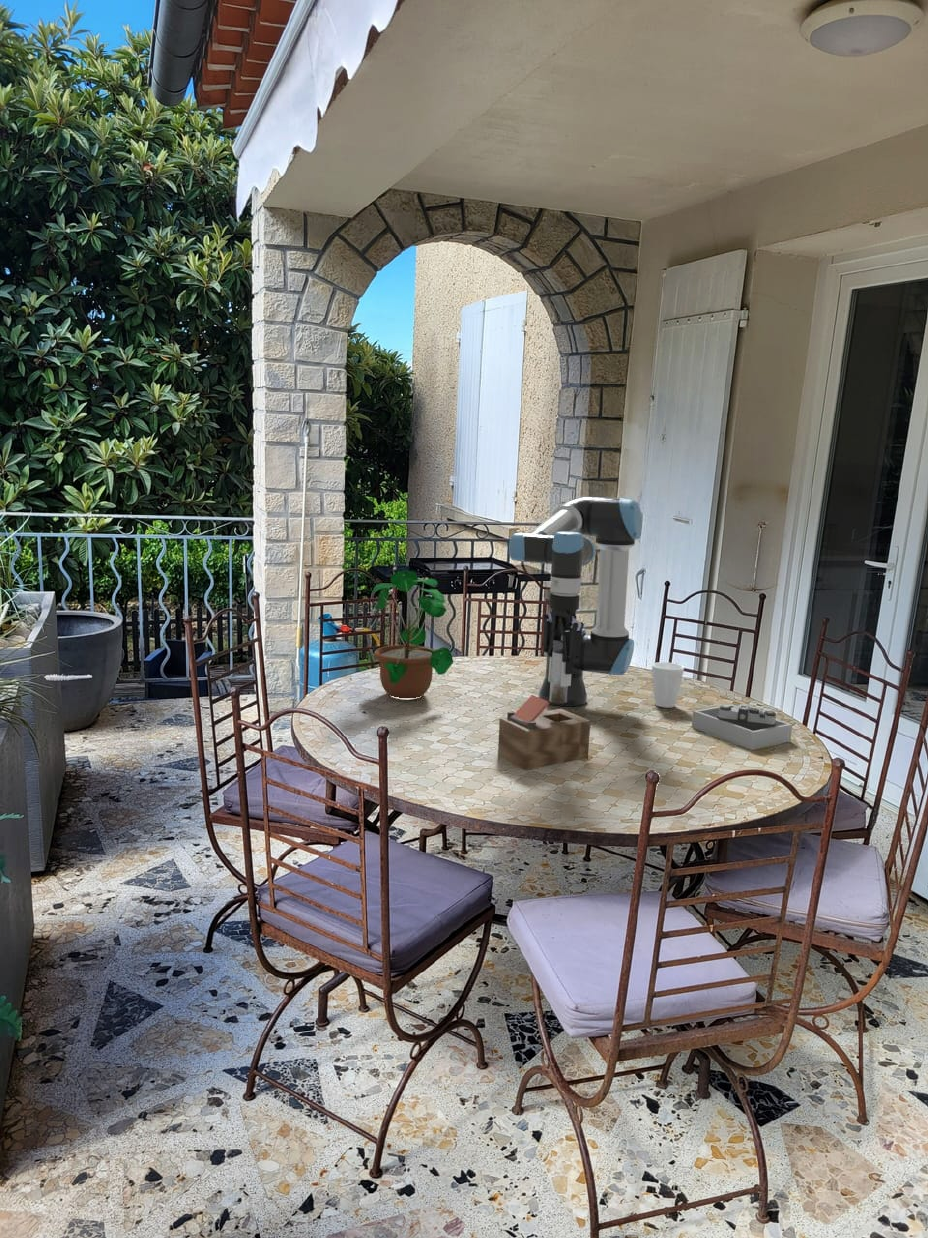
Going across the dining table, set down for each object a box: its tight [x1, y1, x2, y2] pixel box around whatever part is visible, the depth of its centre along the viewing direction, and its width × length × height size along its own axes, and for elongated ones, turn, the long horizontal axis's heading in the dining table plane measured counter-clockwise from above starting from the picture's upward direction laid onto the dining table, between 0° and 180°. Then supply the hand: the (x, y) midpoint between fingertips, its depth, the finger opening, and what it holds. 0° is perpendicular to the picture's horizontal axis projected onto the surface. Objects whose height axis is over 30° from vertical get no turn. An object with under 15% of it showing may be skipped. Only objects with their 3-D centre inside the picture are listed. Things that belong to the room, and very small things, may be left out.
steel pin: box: [550, 639, 568, 704], centre depth 224 cm, size 4×4×16 cm
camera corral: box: [691, 704, 793, 751], centre depth 251 cm, size 16×22×5 cm
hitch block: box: [497, 708, 591, 771], centre depth 225 cm, size 20×12×12 cm, turn 122°
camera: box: [717, 703, 777, 731], centre depth 249 cm, size 16×10×10 cm, turn 70°
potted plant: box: [371, 570, 454, 698], centre depth 275 cm, size 31×29×40 cm
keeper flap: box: [510, 694, 551, 727], centre depth 221 cm, size 8×7×1 cm
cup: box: [651, 661, 685, 708], centre depth 276 cm, size 10×10×13 cm
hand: (559, 683), depth 225 cm, fingers closed on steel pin, 4 cm apart
